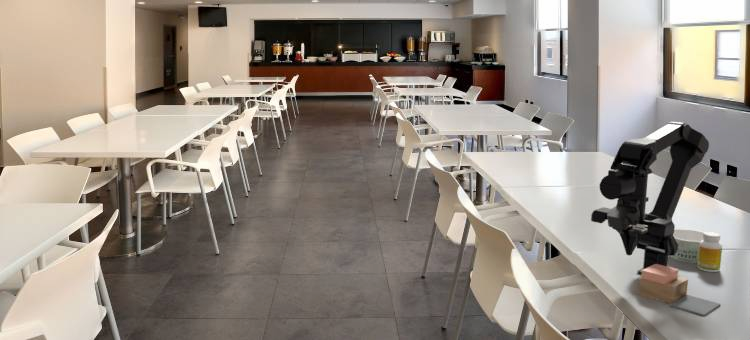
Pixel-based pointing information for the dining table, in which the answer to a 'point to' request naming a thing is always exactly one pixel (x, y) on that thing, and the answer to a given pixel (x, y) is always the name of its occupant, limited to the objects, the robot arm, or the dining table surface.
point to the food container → (687, 245)
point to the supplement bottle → (710, 252)
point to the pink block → (659, 273)
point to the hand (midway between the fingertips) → (629, 254)
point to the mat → (695, 305)
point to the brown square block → (664, 289)
